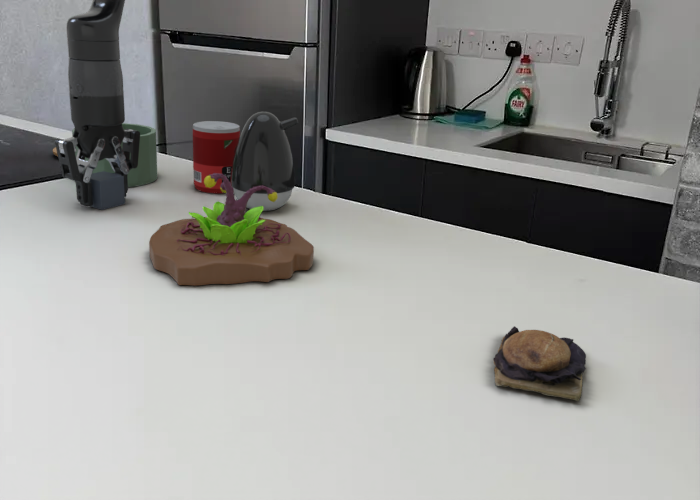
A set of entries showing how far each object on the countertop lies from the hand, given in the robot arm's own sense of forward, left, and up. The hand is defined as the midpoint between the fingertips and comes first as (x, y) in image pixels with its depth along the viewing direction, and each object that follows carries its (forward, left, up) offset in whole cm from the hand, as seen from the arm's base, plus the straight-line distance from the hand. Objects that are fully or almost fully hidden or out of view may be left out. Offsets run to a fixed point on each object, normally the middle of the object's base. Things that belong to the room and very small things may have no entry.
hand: (103, 200), depth 106 cm
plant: (+7, -29, -1) cm, 30 cm away
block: (0, 0, -1) cm, 1 cm away
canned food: (+20, +2, -1) cm, 20 cm away
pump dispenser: (+22, -11, -1) cm, 25 cm away
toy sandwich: (+20, -69, -1) cm, 72 cm away
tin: (+7, +15, -1) cm, 17 cm away
